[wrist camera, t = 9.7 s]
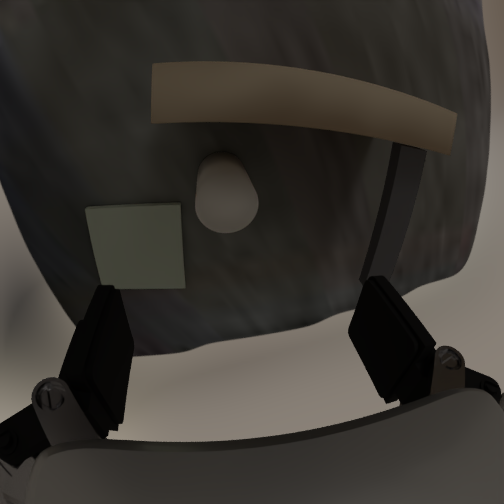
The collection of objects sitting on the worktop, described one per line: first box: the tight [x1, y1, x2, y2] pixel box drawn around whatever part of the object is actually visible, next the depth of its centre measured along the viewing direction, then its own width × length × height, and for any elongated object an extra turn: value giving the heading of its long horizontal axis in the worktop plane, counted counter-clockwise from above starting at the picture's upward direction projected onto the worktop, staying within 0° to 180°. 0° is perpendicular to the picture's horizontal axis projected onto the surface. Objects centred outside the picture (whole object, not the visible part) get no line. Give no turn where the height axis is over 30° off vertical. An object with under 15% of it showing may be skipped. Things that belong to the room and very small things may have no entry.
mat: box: [85, 202, 186, 289], centre depth 26 cm, size 9×9×1 cm
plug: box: [195, 152, 258, 233], centre depth 21 cm, size 4×4×7 cm
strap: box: [359, 142, 427, 285], centre depth 19 cm, size 11×2×1 cm, turn 176°
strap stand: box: [151, 61, 457, 155], centre depth 17 cm, size 3×18×10 cm, turn 86°
